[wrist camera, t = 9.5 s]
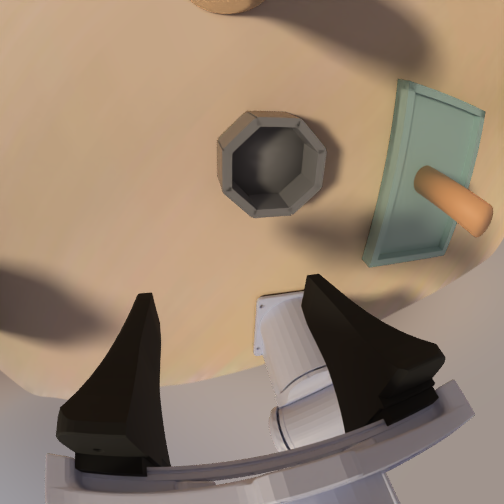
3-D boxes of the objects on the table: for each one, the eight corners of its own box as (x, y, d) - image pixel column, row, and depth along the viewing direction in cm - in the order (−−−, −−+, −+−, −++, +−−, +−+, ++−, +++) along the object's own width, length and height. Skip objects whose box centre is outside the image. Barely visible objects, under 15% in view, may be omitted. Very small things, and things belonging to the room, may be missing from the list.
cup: (302, 196, 23) (317, 213, 20) (217, 201, 22) (223, 220, 19) (311, 113, 19) (330, 120, 17) (217, 111, 18) (222, 117, 15)
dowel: (430, 193, 25) (485, 235, 18) (410, 193, 24) (467, 238, 18) (437, 166, 23) (496, 204, 17) (417, 164, 23) (479, 204, 16)
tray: (436, 248, 31) (444, 255, 30) (361, 258, 28) (369, 267, 27) (475, 107, 21) (485, 111, 19) (397, 78, 18) (409, 80, 17)
